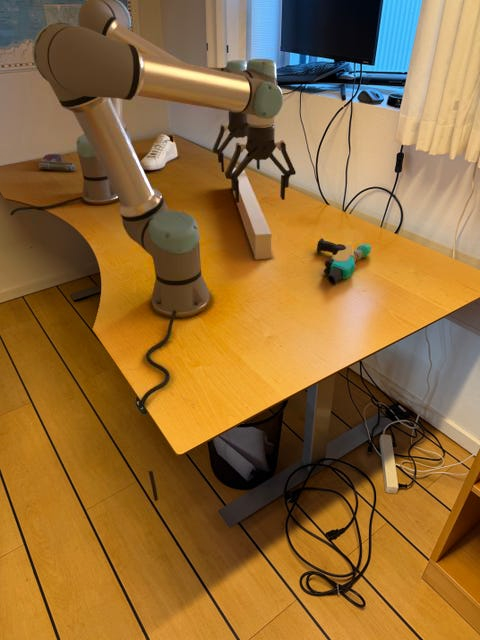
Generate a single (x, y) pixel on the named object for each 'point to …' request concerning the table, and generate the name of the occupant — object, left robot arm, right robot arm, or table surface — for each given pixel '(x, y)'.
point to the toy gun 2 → (341, 259)
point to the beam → (253, 219)
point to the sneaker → (160, 153)
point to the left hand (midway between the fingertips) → (240, 169)
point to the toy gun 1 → (55, 163)
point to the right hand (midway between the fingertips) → (259, 199)
